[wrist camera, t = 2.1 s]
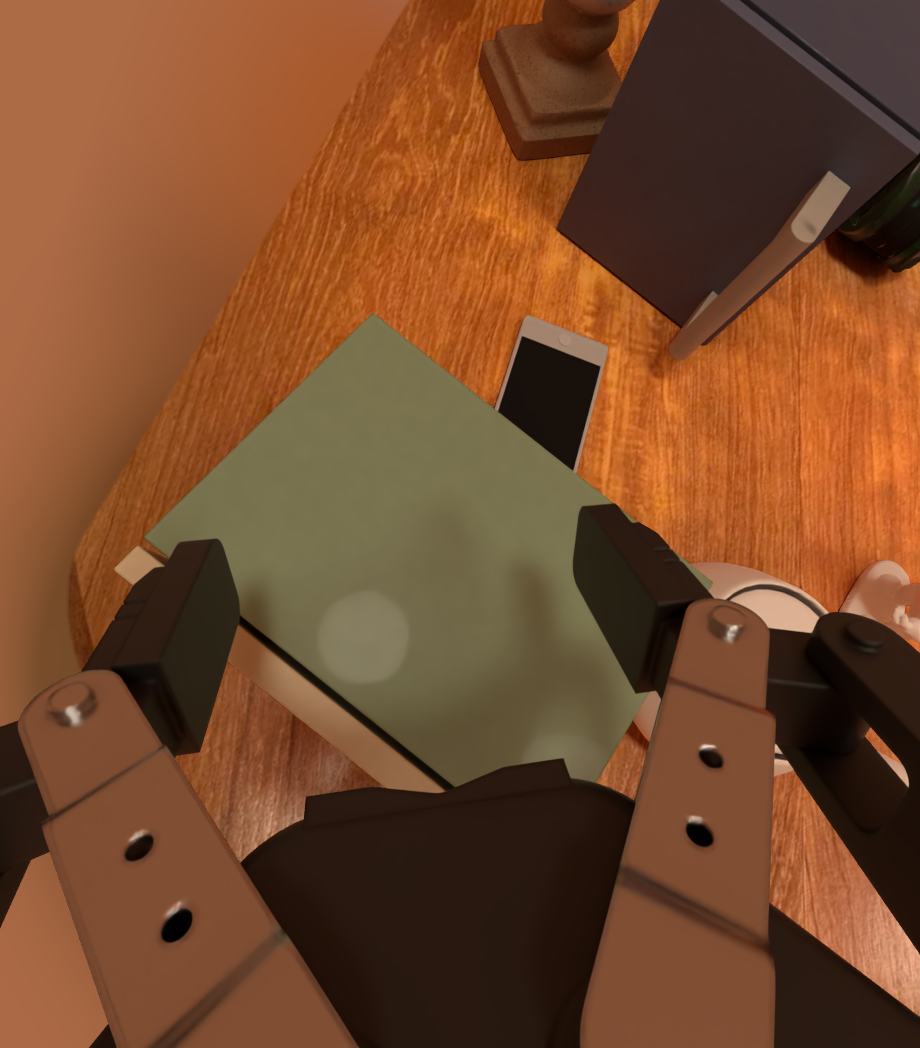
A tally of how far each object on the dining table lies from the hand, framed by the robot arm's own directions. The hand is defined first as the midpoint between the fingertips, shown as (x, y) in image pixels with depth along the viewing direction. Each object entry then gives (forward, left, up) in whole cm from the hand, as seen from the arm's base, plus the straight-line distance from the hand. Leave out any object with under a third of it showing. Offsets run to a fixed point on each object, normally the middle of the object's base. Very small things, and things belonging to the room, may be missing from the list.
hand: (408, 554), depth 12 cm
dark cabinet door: (-1, +32, -23) cm, 39 cm away
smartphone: (0, +19, -23) cm, 30 cm away
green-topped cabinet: (+1, +2, -23) cm, 23 cm away
